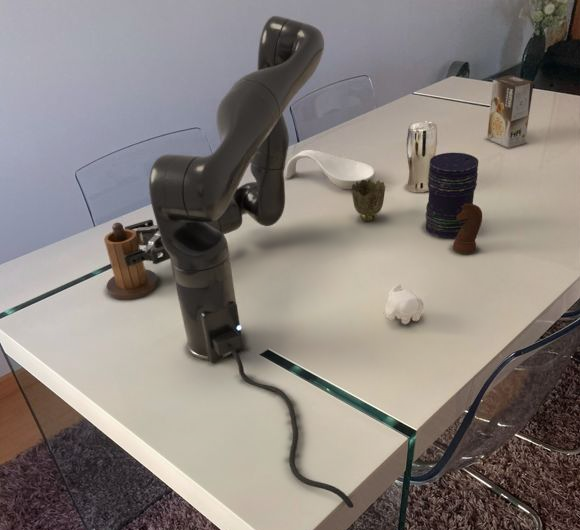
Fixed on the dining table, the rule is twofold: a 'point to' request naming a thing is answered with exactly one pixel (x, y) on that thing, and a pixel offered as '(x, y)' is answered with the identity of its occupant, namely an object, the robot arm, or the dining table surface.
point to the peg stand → (135, 292)
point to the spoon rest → (334, 168)
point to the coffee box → (509, 110)
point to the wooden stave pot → (116, 250)
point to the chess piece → (468, 229)
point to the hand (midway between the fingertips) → (117, 252)
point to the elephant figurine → (403, 305)
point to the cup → (368, 198)
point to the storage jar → (449, 192)
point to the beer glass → (420, 154)
